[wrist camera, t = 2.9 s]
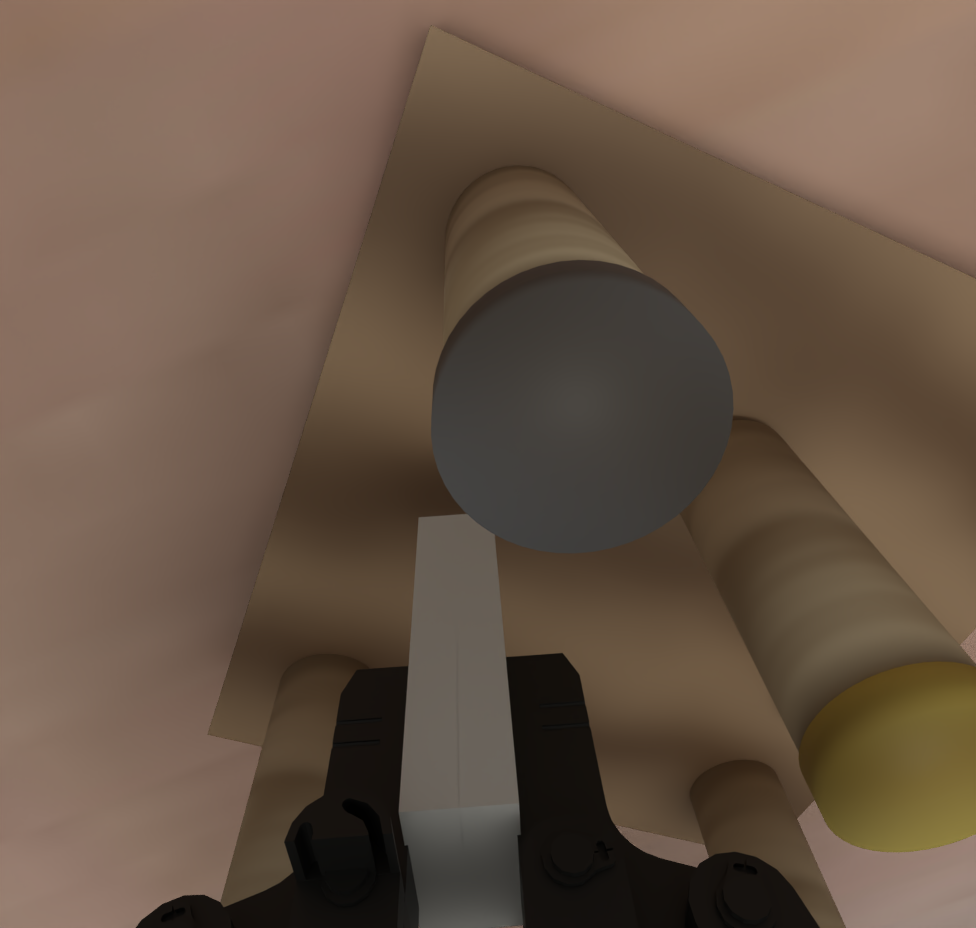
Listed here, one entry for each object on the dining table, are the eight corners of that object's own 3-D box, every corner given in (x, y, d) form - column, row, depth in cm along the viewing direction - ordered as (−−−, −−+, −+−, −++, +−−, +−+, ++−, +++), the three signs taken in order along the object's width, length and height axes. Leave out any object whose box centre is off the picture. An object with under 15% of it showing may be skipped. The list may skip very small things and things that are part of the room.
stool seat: (737, 796, 29) (885, 1181, 19) (229, 673, 24) (80, 1093, 15) (1121, 348, 20) (1771, 637, 10) (433, 28, 16) (403, -9, 6)
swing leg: (884, 701, 22) (1109, 1038, 15) (784, 738, 23) (949, 1079, 15) (772, 393, 17) (1033, 672, 9) (645, 452, 18) (795, 759, 10)
